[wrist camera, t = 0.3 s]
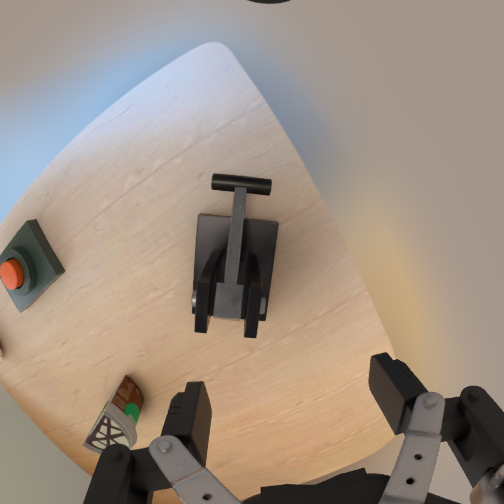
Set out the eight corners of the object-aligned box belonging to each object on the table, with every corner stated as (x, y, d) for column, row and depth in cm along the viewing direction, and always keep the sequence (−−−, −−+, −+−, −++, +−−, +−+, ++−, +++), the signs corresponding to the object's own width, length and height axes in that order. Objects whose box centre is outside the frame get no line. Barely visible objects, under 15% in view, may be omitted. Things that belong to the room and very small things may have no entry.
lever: (214, 180, 28) (213, 167, 26) (269, 186, 28) (272, 174, 26) (195, 316, 25) (192, 314, 22) (258, 322, 25) (261, 321, 23)
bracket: (199, 213, 33) (173, 228, 21) (277, 221, 34) (296, 240, 21) (193, 309, 36) (170, 366, 23) (264, 316, 36) (274, 377, 24)
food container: (132, 427, 40) (116, 468, 31) (103, 408, 40) (81, 446, 30) (164, 391, 39) (147, 437, 29) (129, 369, 38) (105, 411, 28)
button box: (35, 218, 33) (18, 222, 29) (65, 271, 34) (49, 279, 30) (1, 262, 34) (-14, 268, 30) (27, 308, 35) (13, 317, 32)
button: (15, 253, 30) (7, 256, 28) (28, 277, 31) (20, 281, 29) (3, 268, 30) (-4, 271, 29) (16, 290, 31) (9, 294, 29)
